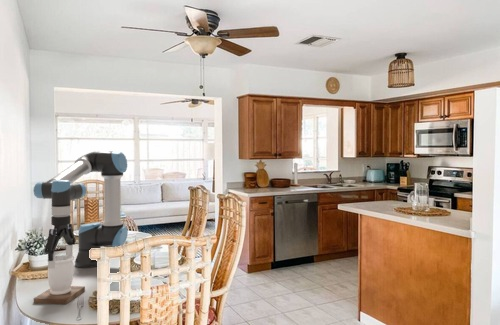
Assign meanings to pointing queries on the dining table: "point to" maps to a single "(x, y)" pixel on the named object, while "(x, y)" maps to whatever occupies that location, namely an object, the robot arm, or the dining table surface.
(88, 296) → the dining table surface
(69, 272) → the jar
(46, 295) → the board
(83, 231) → the robot arm
